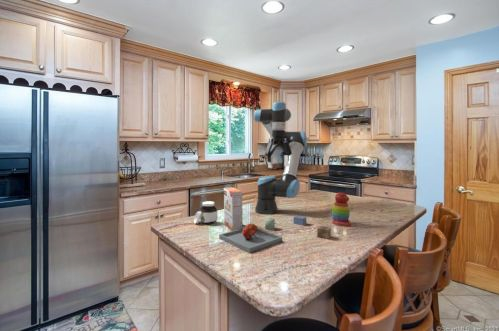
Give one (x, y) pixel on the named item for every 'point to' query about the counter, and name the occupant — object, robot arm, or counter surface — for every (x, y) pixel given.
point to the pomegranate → (249, 230)
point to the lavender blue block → (299, 220)
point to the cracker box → (233, 208)
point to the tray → (250, 240)
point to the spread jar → (206, 213)
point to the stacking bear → (341, 210)
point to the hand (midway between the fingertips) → (278, 167)
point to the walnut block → (324, 232)
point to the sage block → (269, 224)
